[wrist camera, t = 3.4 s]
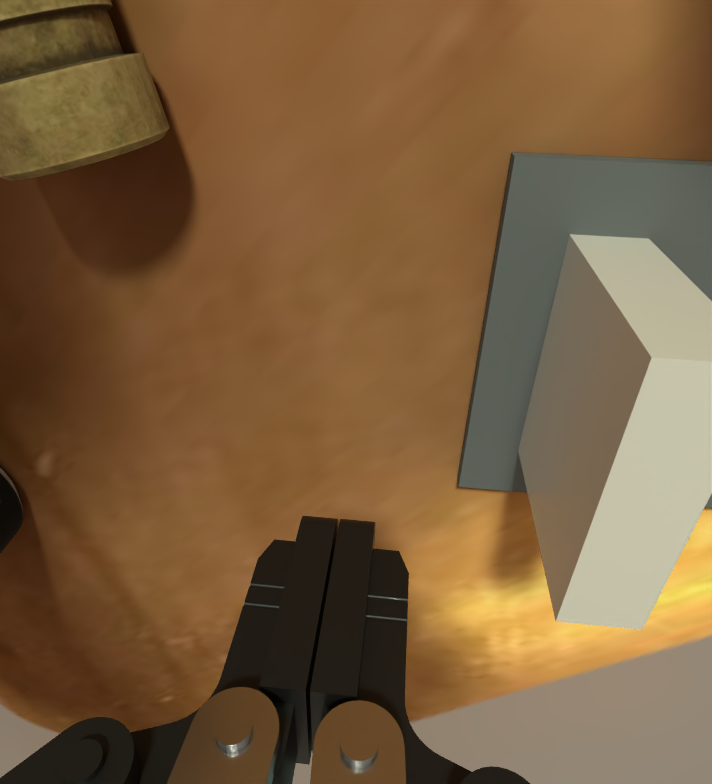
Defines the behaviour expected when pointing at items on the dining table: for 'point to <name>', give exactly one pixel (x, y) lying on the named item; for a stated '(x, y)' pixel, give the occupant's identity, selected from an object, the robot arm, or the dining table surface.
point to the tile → (618, 429)
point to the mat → (542, 270)
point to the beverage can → (9, 510)
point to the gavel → (69, 89)
